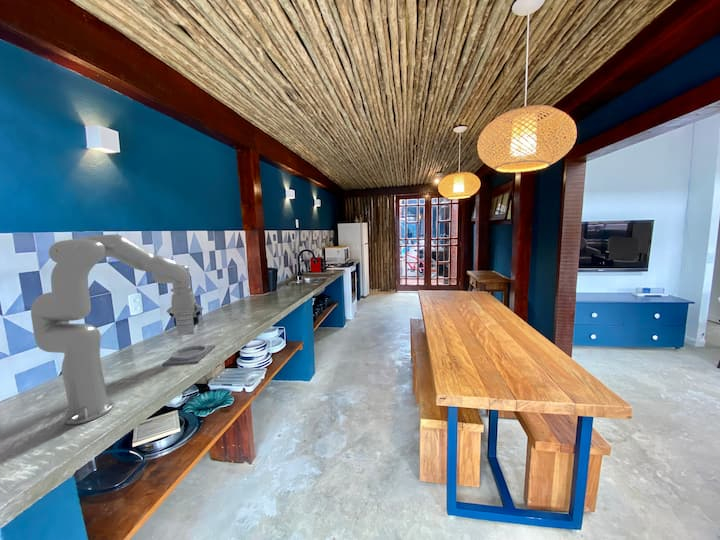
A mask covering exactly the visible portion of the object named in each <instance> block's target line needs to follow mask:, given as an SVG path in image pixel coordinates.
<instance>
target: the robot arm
mask: <svg viewBox="0 0 720 540" xmlns="http://www.w3.org/2000/svg"><path fill="white" fill-rule="evenodd" d="M48 257H49V259H50V260H52V261H53V262H54V263H56V264H55V265H54V267H53V269H52V271H51V274H50V275H51V276H50V286H51V292H45V293H43V294H40V295H39V296H38V297H36V298H35V300H34V301H33V303H32V305H31V308H30V316H31V325H32V330H33V336H34V337H33V338H34V341H35V344H36V345H37V347H38V348H39V349H40V350H41V351H43V352H46V353H55V354H57V353H61V354H63V356H64V357H63V360H62V363H61V374H62V377H63V384H64V390H65V394H66V399H67V405H68V408H67V409H66V414H65V415H64V416H63V417H61V418H60V419H59V420H57V421H56V425H57V426H58V427H61V426H64V425H65V424H66V425H79V424H83V423H87V422H90V421H93V420H95V419H98V418H100V417H102V416H104V415H106V414H107V413H108V412H110V411H112V409H113V408H114V407H115V401H114V400H112V399H109V398H108V395H107V388H106V384H105V383H106V381H105V377H104V370H103V365H102V360H101V340H102V337H101V336H102V334H101V333H100V330H99V329H98V328H97V327H95V326H93V325H91V324H89V323H70V322H72V321H79V320H83V319H85V318H86V317H88V316H90V315H89V314H90V313H91V310H92V303H91V297H90V295H91V294H90V289H89V275H90V272H91V271H92V269H93V268H94V267H95V265H97V264H98V263H99V262H101V261H102V260H103V258H109V257H110V258H113V259H115V260H117V261H119V262H121V263H123V264H125V265H127V266H129V267H131V268H132V269H134V270H137V271H142V272H147V273H151V274H152V275H151V277H152V279H153V281H154V282H155V283H157V284H172V288H171V289H170V292H172V293H173V294H172V295H171V307H169V308H168V309H167V310H166V312H167V314H169V315H168V316H170V317H171V318H172V319H173V322H174V323H173V324H174V326H175V327H177V326H176V318H175V310H189V309H191V312H192V313H193V316H194V317H193V320H194V325H197V326H198V324H199V322H200V320H199V316H200V314H201V313H202V311H203V310H204V307H203V306H201V305H199V304H197V300H196V297H195V293H194V291H192V289H193V288H192V283H191V282H192V281H191V274H190V266H188V265H186V264H185V265H181V264H179V263H178V262H177V261H174V260H172V259H170V258H168V257H164V256H161V255H159V254H155V253H153V252H150V251H148V250H146V249H144V248H143V247H141V246H139V244H137V243H135V242H133V241H132V240H130V239H128V238H127V237H126V236H124V235H120V234H99V235H93V236H86V237H80V238H72V239H65V240H59V241H56V242H55V243H53V244H52V245H51V246H50V248H49V249H48ZM197 310H198V311H197Z"/></svg>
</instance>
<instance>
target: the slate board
mask: <svg viewBox="0 0 720 540" xmlns="http://www.w3.org/2000/svg"><path fill="white" fill-rule="evenodd" d="M206 346H207V347H208V352H206V353H205V354H204V355H202V356H199V357H197V358H193V359H189V360H181V361H177V360H173V359H172V356H170V357H169V358H168V359H167V360H165V361H164V362H162V364H161V366H162V367H165V366H166V367H167V366H176V365H177V366H178V365H179V364H181V365H191V364H199V363H200V362H201V361H202V360H203V359H204V358H205V357H206V356H207V355H208V354H209V353H210V352H211V351H212V350H213V349H215V348H216V345H215V344H210V345H206ZM203 350H204V349H201V348H199V349H191V350H186V351H183V352H181V353H179V354H177V355H176V356H179V357H181V356H190V355H194V354H197V353H199V352H202V351H203ZM201 359H202V360H201ZM200 360H201V361H200ZM199 361H200V362H199Z"/></svg>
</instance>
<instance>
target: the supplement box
mask: <svg viewBox="0 0 720 540" xmlns="http://www.w3.org/2000/svg"><path fill="white" fill-rule="evenodd" d="M193 317H194V316H193V313H192V312H191V309H189V310H175V318H176V326H175V327H176V331H177V336H179V337H181V336H188V335H195V333H196V332H197V331H198V324H197V325H194V320H193Z"/></svg>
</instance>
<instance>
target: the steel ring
mask: <svg viewBox="0 0 720 540" xmlns="http://www.w3.org/2000/svg"><path fill="white" fill-rule="evenodd" d="M207 346H208V345H205V344H194V345H193V344H192V345H189V346H185V347H182V348H179V349H177V350H175V351H174V352H172V353H171V357H172V359H173V360H177V361H181V360H189V359H193V358H197V357H199V356H202V355H204V354H205V353H206V352H208V347H207ZM199 348H201V349H204V350H203V351H202V352H199V353H197V354H194V355H190V356H181V357H179V356H176V355H177V354H179V353H181V352H183V351H186V350H191V349H199Z"/></svg>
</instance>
